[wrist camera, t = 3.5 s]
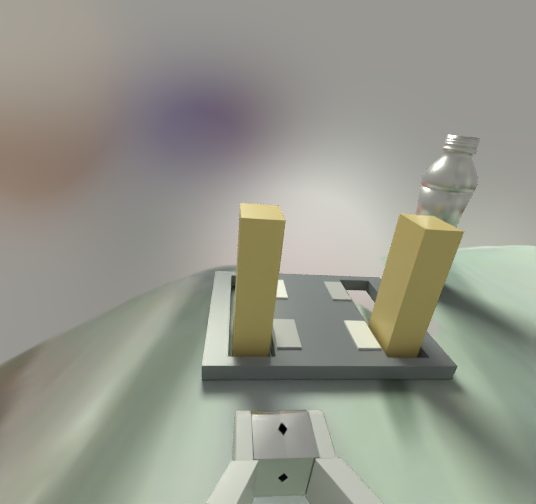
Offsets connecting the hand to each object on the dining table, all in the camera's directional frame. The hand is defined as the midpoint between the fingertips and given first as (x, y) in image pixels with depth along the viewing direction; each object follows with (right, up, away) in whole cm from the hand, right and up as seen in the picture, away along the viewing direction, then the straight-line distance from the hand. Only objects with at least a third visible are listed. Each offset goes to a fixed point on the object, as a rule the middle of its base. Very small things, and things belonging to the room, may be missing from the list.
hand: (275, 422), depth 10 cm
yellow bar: (-2, -3, +18) cm, 18 cm away
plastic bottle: (+22, +2, +34) cm, 41 cm away
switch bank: (+5, -2, +23) cm, 23 cm away
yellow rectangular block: (+12, -4, +20) cm, 23 cm away
